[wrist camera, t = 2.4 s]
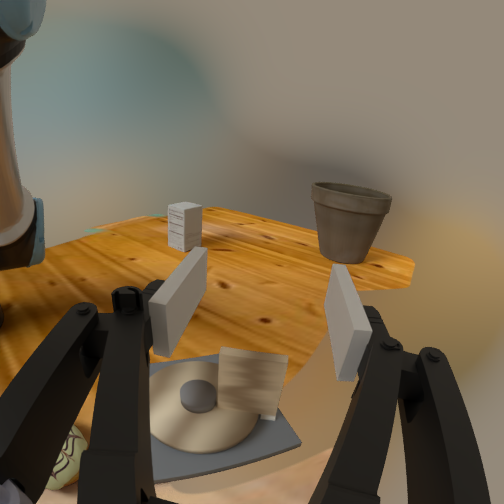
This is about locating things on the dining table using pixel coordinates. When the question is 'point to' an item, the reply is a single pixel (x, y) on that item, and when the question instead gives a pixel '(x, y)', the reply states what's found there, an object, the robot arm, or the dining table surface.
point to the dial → (214, 399)
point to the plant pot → (347, 219)
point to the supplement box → (184, 226)
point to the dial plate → (247, 451)
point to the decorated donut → (68, 461)
